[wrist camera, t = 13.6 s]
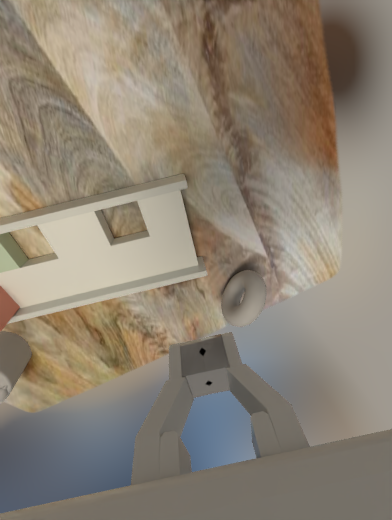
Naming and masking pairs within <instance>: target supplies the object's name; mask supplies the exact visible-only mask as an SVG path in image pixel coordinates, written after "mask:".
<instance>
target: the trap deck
mask: <svg viewBox="0 0 392 520" xmlns="http://www.w3.org/2000/svg"><path fill="white" fill-rule="evenodd" d="M187 188H188V186H187V182H186V178H185V176H184V173H183V174H179V175H175V176H171V177H167V178H163V179H159V180H155V181H151V182H146V183H142V184H138V185H134V186H130V187H126V188H122V189H118V190H114V191H110V192H106V193H102V194H98V195H94V196H89V197H85V198H81V199H77V200H73V201H69V202H65V203H61V204H57V205H53V206H49V207H45V208H41V209H37V210H32V211H28V212H24V213H20V214H16V215H12V216H8V217H4V218H0V286H1V287H2V288H3V289H4V290H5V291H6V292H7V293H8V294H9V295H10V297H11V298H12V299H13V300H14V301H15V302H16V303H17V304H18V305H19V306H20V308H19V309H18V311H17V312H16V313H15V314H14V316H13V317H12V318H11V319H10V321H9V322H8V323H12V322H17V321H21V320H25V319H29V318H33V317H37V316H41V315H46V314H50V313H54V312H58V311H62V310H66V309H70V308H75V307H79V306H83V305H87V304H91V303H95V302H100V301H104V300H108V299H112V298H116V297H120V296H124V295H129V294H133V293H137V292H141V291H145V290H149V289H153V288H158V287H162V286H166V285H170V284H174V283H178V282H183V281H187V280H191V279H195V278H199V277H203V276H207V271H206V267H205V264H204V260H203V257H202V256H201V257H197V256H196V252H195V248H194V244H193V240H192V236H191V232H190V228H189V224H188V220H187V215H186V211H185V207H184V203H183V199H182V195H181V191H180V190H183V189H187ZM134 201H137V202H138V205H139V207H140V210H141V213H142V216H143V219H144V221H145V224H146V227H147V230H148V231H143V232H139V233H135V234H131V235H127V236H123V237H119V238H115V239H114V237H113V235H112V233H111V231H110V229H109V226H108V224H107V222H106V220H105V218H104V216H103V213H102V211H101V209H105V208H109V207H113V206H117V205H121V204H125V203H130V202H134ZM36 225H37V226H38V228H39V229H40V231H41V232H42V234H43V235H44V237H45V238H46V240H47V241H48V243H49V244H50V246H51V248H52V249H53V251H54V252H55V253H53V254H49V255H45V256H41V257H37V258H33V259H28V258H27V256H26V255H25V254H24V252H23V251H22V250H21V248H20V247H19V246H18V244H17V243H16V242H15V240H14V239H13V238H12V236H11V235H10V233H9V232H11V231H15V230H19V229H23V228H27V227H32V226H36ZM8 323H7V324H8Z"/></svg>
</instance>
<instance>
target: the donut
mask: <svg viewBox="0 0 392 520" xmlns="http://www.w3.org/2000/svg"><path fill="white" fill-rule="evenodd" d="M244 291H245V294H244V298H243V300H242V302H241V303H240V300H241V297H242V294H243V293H244ZM265 300H266V285H265V282H264V280H263V278H262V277H261V276H260V275H259V274H258V273H257V272H254V271H251V270H245V271H241V272H239V273H237V274H236V275H234V276H233V277H232V278H231V280H230V281H229V283H228V284H227V286H226V288H225V290H224V293H223V297H222V304H221V307H222V313H223V316H224V318H225V320H226V321H227V322H228V323H230V324H231V325H233V326H237V327H243V326H246V325H249V324H251V323H252V322H253V321H254V320H256V319H257V317H258V316H259V315H260V313H261V312H262V309H263V307H264V305H265Z"/></svg>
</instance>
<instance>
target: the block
mask: <svg viewBox="0 0 392 520" xmlns="http://www.w3.org/2000/svg"><path fill="white" fill-rule="evenodd" d="M19 308H20V306H19V305H18V304H17V303H16V302H15V301H14V300H13V299H12V298H11V297H10V295H9V294H8V293H7V292H6V291H5V290H4V289H3V288H2V287H1V286H0V331H2V329H3V328H4V327H5V326H6V324H7V323H8V322H9V321H10V319H11V318H12V317H13V316H14V314H15V313H16V312H17V311H18V309H19Z"/></svg>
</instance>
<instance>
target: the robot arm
mask: <svg viewBox="0 0 392 520" xmlns="http://www.w3.org/2000/svg"><path fill="white" fill-rule="evenodd" d="M228 390H230V391H231V392H232V394H233V395H234V396H235V397H236V398H237V399H238V401H239V402H240V403H241V404H242V406H243V407H244V408H245V409H246V410H247V411H248V413H249V414H250V415H251V431H252V443H253V447H254V450H255V454H256V459H251V460H247V461H242V462H238V463H233V464H228V465H224V466H219V467H215V468H210V469H205V470H200V471H196V472H192V471H191V460H190V455H189V453H188V451H187V449H186V447H185V446H184V444H183V442H182V440H181V438H180V436H181V434H182V431H183V428H184V425H185V422H186V420H187V417H188V414H189V411H190V409H191V406H192V403H193V400H194V399H193V398H196V397H200V396H204V395H208V394H212V393H218V392H223V391H228ZM0 520H392V429H390V430H386V431H381V432H376V433H372V434H367V435H363V436H358V437H353V438H349V439H344V440H339V441H335V442H330V443H325V444H321V445H316V446H312V447H310V446H309V444H308V441H307V439H306V437H305V435H304V433H303V430H302V428H301V426H300V423H299V421H298V419H297V417H296V415H295V412H294V410H293V408H292V405H291V404H290V403H289V402H288V401H287V400H286V399H285V398H283V397H282V396H281V395H280V394H279V393H278V392H277V391H275V390H274V389H273V388H272V387H271V386H270V385H269V384H268V383H266V382H265V381H264V380H263V379H262V378H261V377H260V376H259V375H257V374H256V373H255V372H254V371H253V370H252V369H251V368H250V367H248V366H247V365H246V364H242V362H241V359H240V356H239V352H238V349H237V346H236V343H235V340H234V337H233V334H232V332H229V333H225V334H222V335H221V334H219V335H215V336H210V337H206V338H202V339H199V340H193V341H188V342H183V343H178V344H173V345H170V346H169V380H168V381H166V382H165V384H164V386H163V388H162V390H161V391H160V393H159V395H158V397H157V399H156V401H155V402H154V404H153V406H152V408H151V410H150V412H149V413H148V415H147V417H146V419H145V421H144V423H143V425H142V427H141V428H140V430H139V432H138V434H137V436H136V439H135V449H134V459H133V469H132V479H131V486H127V487H122V488H117V489H112V490H108V491H103V492H98V493H94V494H89V495H85V496H80V497H76V498H71V499H66V500H61V501H57V502H52V503H48V504H43V505H38V506H34V507H29V508H24V509H20V510H15V511H11V512H6V513H1V514H0Z"/></svg>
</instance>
